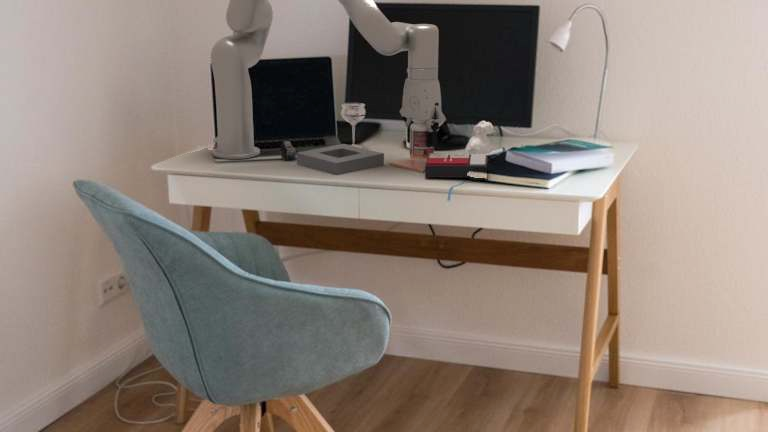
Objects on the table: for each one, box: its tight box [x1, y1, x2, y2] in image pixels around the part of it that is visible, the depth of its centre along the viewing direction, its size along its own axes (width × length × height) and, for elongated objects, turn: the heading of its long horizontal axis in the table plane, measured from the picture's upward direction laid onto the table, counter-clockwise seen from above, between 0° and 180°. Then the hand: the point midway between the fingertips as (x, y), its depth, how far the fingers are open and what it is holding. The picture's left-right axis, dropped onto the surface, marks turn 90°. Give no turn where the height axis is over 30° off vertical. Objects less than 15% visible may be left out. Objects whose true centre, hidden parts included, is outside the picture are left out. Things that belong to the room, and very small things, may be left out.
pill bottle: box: [409, 119, 435, 160], centre depth 247 cm, size 6×6×11 cm
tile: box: [389, 157, 427, 174], centre depth 249 cm, size 12×12×1 cm
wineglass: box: [340, 102, 366, 148], centre depth 268 cm, size 7×7×12 cm
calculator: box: [424, 152, 489, 181], centre depth 239 cm, size 11×4×15 cm
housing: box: [296, 143, 385, 176], centre depth 250 cm, size 16×16×3 cm
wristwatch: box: [280, 140, 297, 161], centre depth 256 cm, size 3×5×5 cm
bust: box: [464, 120, 494, 155], centre depth 255 cm, size 12×8×11 cm
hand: (421, 143), depth 248 cm, fingers closed on pill bottle, 6 cm apart
